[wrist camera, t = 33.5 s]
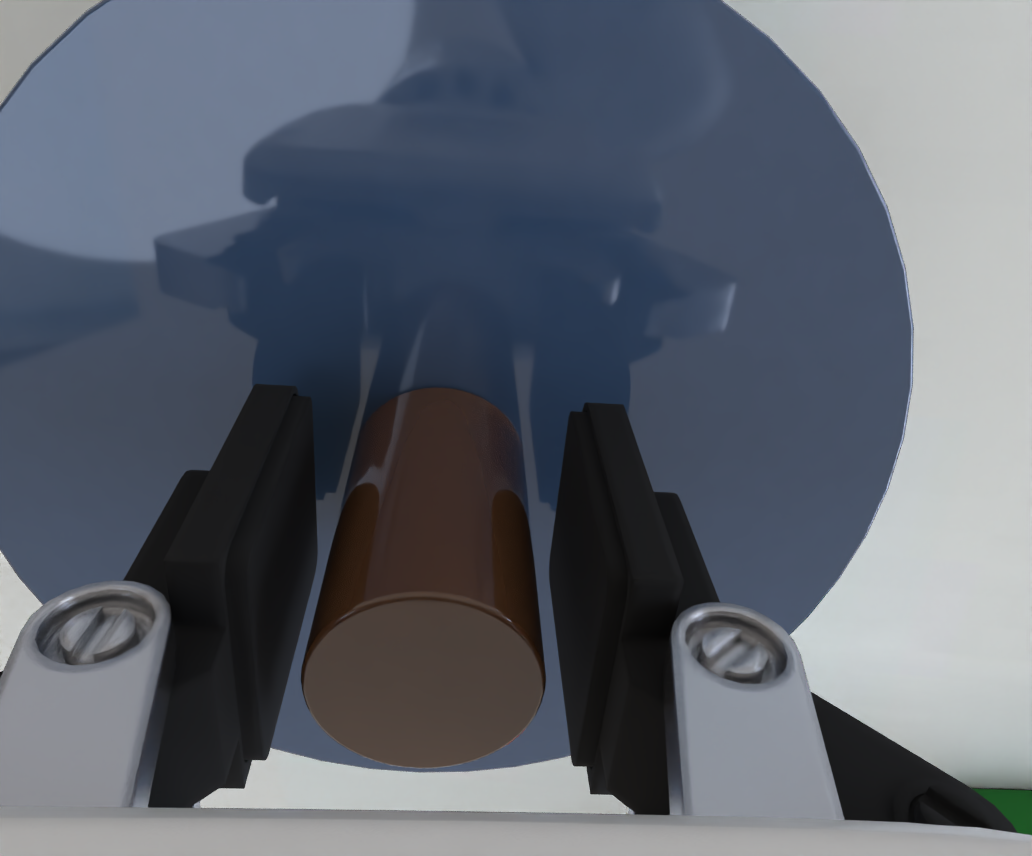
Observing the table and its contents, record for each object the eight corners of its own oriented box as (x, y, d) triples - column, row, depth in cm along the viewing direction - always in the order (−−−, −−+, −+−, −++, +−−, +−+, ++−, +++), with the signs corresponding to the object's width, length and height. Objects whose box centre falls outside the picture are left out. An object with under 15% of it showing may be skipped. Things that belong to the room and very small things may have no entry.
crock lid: (-150, -167, 10) (-844, -308, 5) (1028, -21, 11) (1508, -6, 6) (60, 712, 17) (-120, 1037, 12) (757, 736, 18) (868, 1039, 13)
